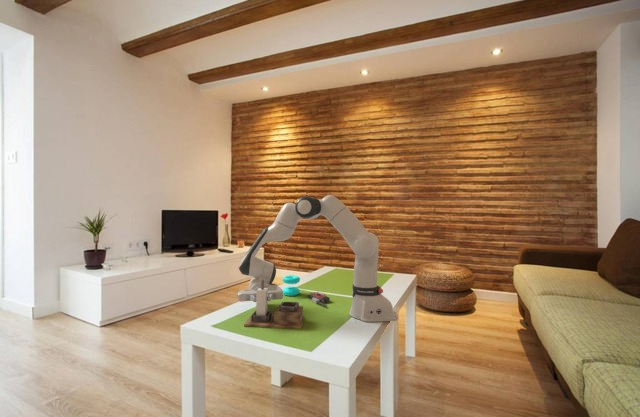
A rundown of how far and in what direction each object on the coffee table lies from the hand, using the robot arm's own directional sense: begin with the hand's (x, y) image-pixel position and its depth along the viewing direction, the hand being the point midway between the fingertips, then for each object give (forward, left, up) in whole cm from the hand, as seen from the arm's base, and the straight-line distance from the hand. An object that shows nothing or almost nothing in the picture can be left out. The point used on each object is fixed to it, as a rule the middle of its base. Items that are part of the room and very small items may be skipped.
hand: (262, 299), depth 139 cm
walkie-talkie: (-24, -32, -10) cm, 42 cm away
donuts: (-6, -45, -10) cm, 46 cm away
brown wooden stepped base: (-6, -1, -10) cm, 11 cm away
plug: (0, -1, -7) cm, 7 cm away
